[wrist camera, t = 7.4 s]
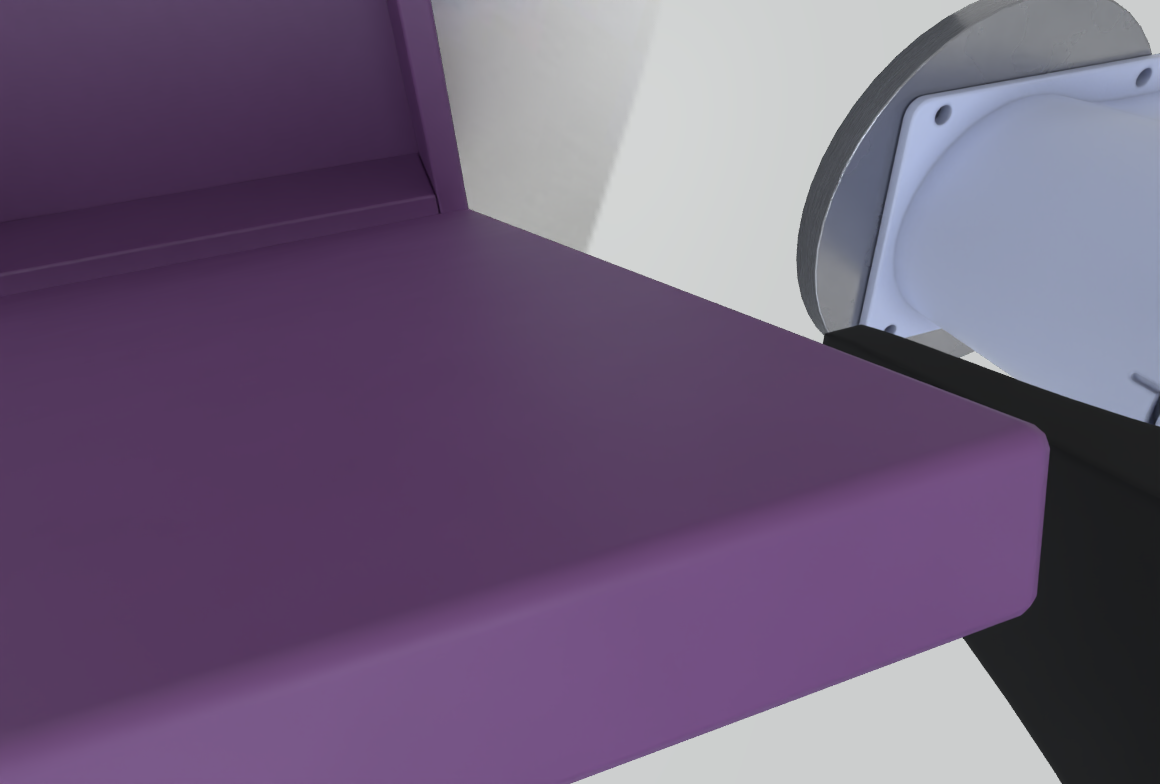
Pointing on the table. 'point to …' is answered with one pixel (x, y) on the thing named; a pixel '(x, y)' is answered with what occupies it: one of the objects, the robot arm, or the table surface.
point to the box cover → (461, 515)
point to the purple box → (212, 129)
